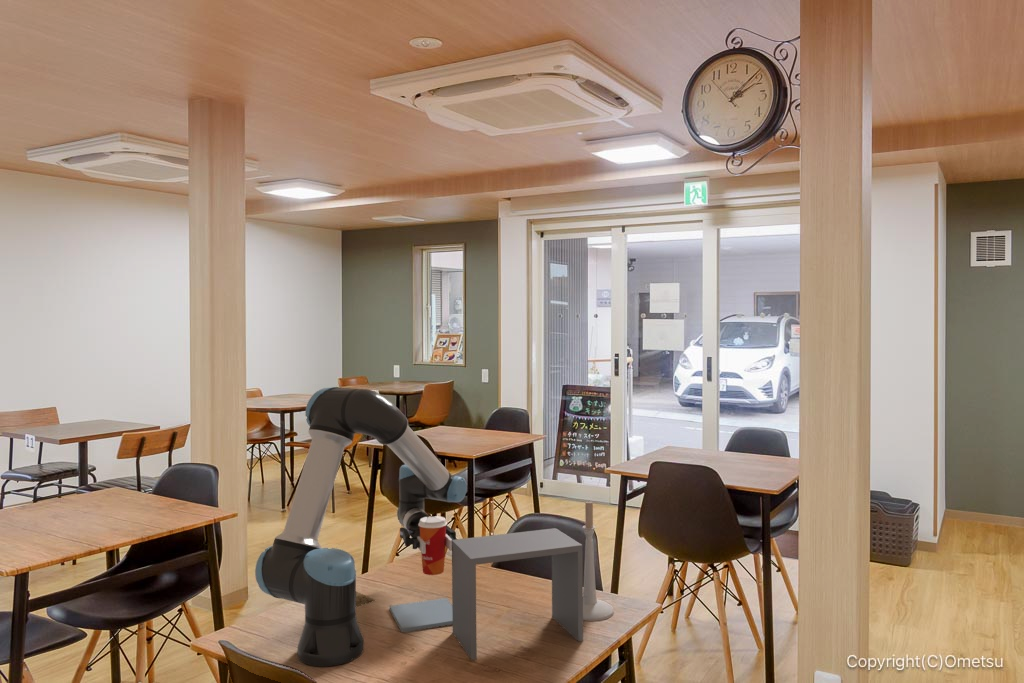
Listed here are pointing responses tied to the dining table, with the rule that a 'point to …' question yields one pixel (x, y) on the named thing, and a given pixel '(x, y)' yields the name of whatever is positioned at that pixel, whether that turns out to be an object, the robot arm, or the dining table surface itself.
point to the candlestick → (592, 575)
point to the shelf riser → (512, 548)
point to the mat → (422, 614)
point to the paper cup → (433, 544)
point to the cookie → (362, 599)
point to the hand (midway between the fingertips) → (437, 546)
